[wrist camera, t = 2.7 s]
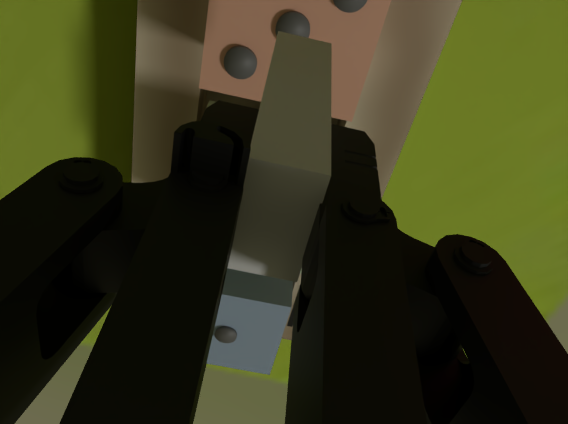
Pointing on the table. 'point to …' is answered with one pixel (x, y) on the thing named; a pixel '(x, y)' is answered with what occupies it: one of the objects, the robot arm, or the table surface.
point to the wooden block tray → (193, 101)
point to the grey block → (250, 321)
